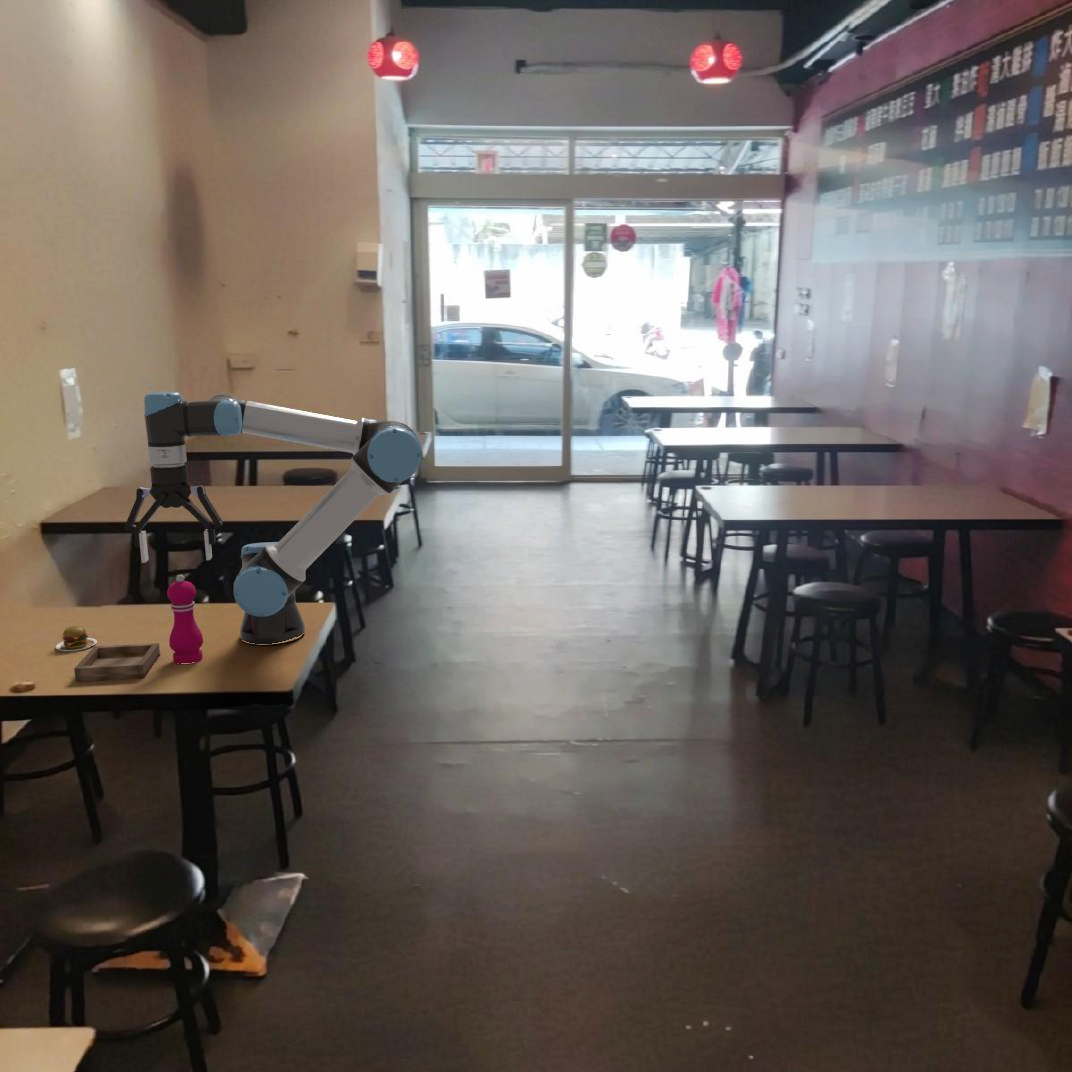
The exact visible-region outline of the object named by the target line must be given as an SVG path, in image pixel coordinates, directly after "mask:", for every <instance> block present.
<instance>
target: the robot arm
mask: <svg viewBox="0 0 1072 1072" xmlns="http://www.w3.org/2000/svg"><path fill="white" fill-rule="evenodd" d="M143 399H144V403H143V404H144V414H143V415H144V421H145V427H146V429H145V430H146V437H147V449H148V450H147V451H148V458H149V459H148V460H149V463H150V465H151V467H150V469H149V470H150V481H151V487H150V488H149V487H147V488H146V487H144V486H140V487H138V488H137V489H136V490H135V491H136V496H135V501H134V503H133V506H132V508H131V510H130V513H129V515H128V517H127V520H126V522H125V525H124V528H123V529H124V531H127V532H128V531H129V532H132V533H133V536H134V545H135V547H136V548H140V559H141V564H144V563H145V564H146V563H147V562H148V561H149V552H148V550H149V549H148V538H147V531H146V530H143V529H144V528H145V526H146V525H147V524H148V522H149V521H150V520H151V518H152V517H153V516H154V515H155V513H156V512H157V510H158V509H159V508H161V507H162V508H164V509H169V508H180V507H183V508H184V509H185V510H187V511H188V512H189V513H190V514H191V515H192V516H193V517H194V518H196V520H197V521H198V522H199V523H200V524H201V525H202V526H203V527H204V528H205V530H204V531H203V536H204V548H205V558H206V559H205V560H206V561H211V559H212V558H213V553H212V552H213V550H212V545H213V546H214V545H215V544H216V529H219V528H221V527H222V526H223V524H224V521H223V519H222V518H221V516H220V515H219V513H218V512H217V510H216V508H215V507H214V505H213V503H212V502H211V500H210V498H209V497H208V495H207V493H206V488H205V485H203V484H200V485H198V486H192V487H191V485H190V482H189V471H188V465H187V464H186V463H187V461H188V459H187V450H186V448H187V447H186V440H185V438H186V437H188V438H189V437H192V438H193V437H224V438H225V437H229V436H239V435H240V434H246V435H252V436H257V437H263V438H269V439H273V440H274V439H275V440H279V441H285V442H291V443H296V444H300V445H301V444H302V445H305V446H307V445H308V446H312V447H318V448H322V449H328V450H334V451H339V452H345V453H351V454H352V455H353V456H352V457H351V464H350V465H351V467H350V469H348V470H347V472H345V474H343V476H342V477H341V478H340V479H339V480H338V481H337V482H336V483H335V484H334V485H333V486H332V487H331V488H330V489H328V491H327V492H326V493H325V494H323V495H324V496H322V497H321V498H320V499H319V500H318V501H317V502H316V503H315V504H314V505H313V507H311V509H309V510H308V512H307V513H306V514H305V515H304V516H302V518H300V520H298V522H297V523H296V524H294V526H293V527H291V529H290V530H289V531H288V532H287V533H286V534H285V535H284V536H283V537H282V538H281V539H280V540H279V541H272V542H271V541H270V542H254V543H248V544H246V545H245V544H244V546H242V548H241V549H240V550H241V554H240V558H241V561H242V564H241V568H240V570H239V572H238V574H237V576H236V577H235V579H234V581H233V596H234V600H235V603H236V604H237V606H238V607H239V608H240V609H241V610H243V611H244V613H243V617H242V619H241V620H242V621H241V625H240V629H239V633H240V640H241V639H242V640H244V641H246V642H249V643H255V644H272V643H278V642H282V641H286V640H289V639H292V638H294V637H298V636H300V635H302V634H303V633H304V631H305V632H306V626H305V622H304V619H303V617H302V615H301V612H300V610H299V607H298V605H297V603H296V600H297V599H296V590H297V589H298V588H299V587H300V586H301V585H302V584H303V583H304V582H305V581H306V570H307V569H308V568H309V567H310V566H311V565H312V564H314V562H315V561H316V560H317V559H318V558H319V557H320V556H321V555H322V554H323V553H324V552H325V551H326V550H327V549H328V548H329V547H330V546H331V544H333V543H334V542H335V541H336V540H337V539H338V537H339V536H341V534H343V532H344V531H345V530H346V529H347V528H348V527H349V526H351V524H352V523H353V522H354V521H355V520H356V519H357V518H358V517H360V515H361V514H362V513H363V512H364V511H365V510H366V509H367V508H368V507H369V506H370V505H371V504H372V503H373V502H374V501H375V500H376V499H377V498H378V497H379V496H381V495H391V493H392V492H393V491H394V490H395V489H397V487H399V486H400V484H401V483H402V482H404V481H407V480H409V479H410V478H411V477H412V476H414V474H415V473H416V472H417V471H418V470H419V468H420V466H421V463H422V458H423V450H422V444H421V442H420V439H419V438H418V437H417V434H416V433H415V431H414V430H413V429H412V428H411V427H410V426H408V425H407V424H404V423H403V422H400V421H395V420H383V419H382V420H380V419H372V418H367V417H361V418H360V419H358V420H354V419H348V418H342V417H336V416H331V415H328V414H327V415H326V414H323V413H321V414H320V413H317V412H316V413H315V412H311V411H310V412H309V411H305V410H300V409H299V410H298V409H295V408H289V407H283V406H279V405H273V404H268V403H263V402H256V401H251V400H245V399H240V398H235V397H234V396H230V395H227V394H218V395H214V396H213V397H211V398H210V399H209V400H203V401H202V400H200V401H186V400H183V398H182V395H181V394H180V393H179V392H178V391H177V392H176V391H158V392H157V391H156V392H149V393H147V394H145V396H144V398H143ZM191 494H194V496H195V497H196V498H197V497H198V500H199V502H200V504H201V505H202V507H203V508H204V510H205V512H206V513H207V514H208V516H209V517H207V515H206V514H205V513H203V511H201V509H200V508H199V507H198V506H196V505H195V504H194V502H193V500H191V498H190V495H191ZM149 495H150V496H151V497H153V499H154V502H153V503H152V505H151V506H150V508H149V509H148V510H147V511H146V513H145V514H144V515H143V516H142V517H141V519H140V520H139V522H137V524H135V523H136V520H137V518H138V515H139V513H140V510H141V508H142V506H143V504H144V501H145V499H147V498H148V496H149ZM242 640H241V641H242Z"/></svg>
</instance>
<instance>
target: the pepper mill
mask: <svg viewBox="0 0 1072 1072" xmlns="http://www.w3.org/2000/svg"><path fill="white" fill-rule="evenodd" d="M185 579H186V578H185V576H184V575H183V574H177V575H176V577H175V581H174V582H172V583H171V584H170V585H169V586H168V588H167V591H166V592H167V593H166V595H167V599H168V600H169V602H171V603H170V606H171V608H170V609H171V610H170V611H172V612H173V616H174V617H173V619H174V620H173V626H172V629H171V633H170V634H169V640H168V641H169V645H168V646H169V647H170V649H171V650H172V651H173V654H172V660H173V663H174V662H175V663H174V664H176V663H179V664H178V665H180V664H181V663H192V662H196V663H198V661H199V662H201V661H202V660H203V658H204V657H203V650H202V649H200V648H201V647H202V646H203V644H204V637H203V633H202V631H201V629H200V627H199V626H198V623H197V622H196V619H195V616H194V615H195V614H194V609H195V607H196V606H195V601H194V599H195V598H196V595H197V590H196V587H195V585H194V584H193V583H192V582H190V581H187V580H185ZM201 659H202V660H201Z"/></svg>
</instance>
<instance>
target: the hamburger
mask: <svg viewBox="0 0 1072 1072" xmlns="http://www.w3.org/2000/svg"><path fill="white" fill-rule="evenodd" d="M61 637H62V638H61V639H62V641H61V642H59V643H57V644H56V645H55V649H56V650H58V651H60V652H61V651H62V652H78V651H84V650H87V649H89V648H91V646H92V647H94V645H95V646H96V644H97V643H98V640H97V639H95V638H92V637H89V635H88V633H87V630H86V628H85V627H83V626H80V625H72V626H69V627H67V628H65V629H64V630H63V632H62V636H61ZM88 642H91V643H92V644H91V645H90V646H87V645H88ZM63 646H64V648H66V649H67V650H66V649H61V647H63ZM86 646H87V647H86Z"/></svg>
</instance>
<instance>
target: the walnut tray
mask: <svg viewBox="0 0 1072 1072" xmlns="http://www.w3.org/2000/svg"><path fill="white" fill-rule="evenodd" d="M159 656H160V657H161V651H160V642H157V643H156V642H155V643H154V642H153V643H136V644H135V643H134V644H118V645H116V644H115V645H97V646H96V645H95V646H94V645H93V647H92V649H91V650H89V652H88V653H87V654H86V655H85V656H84V657H83V658H82V659H81V660H80V662H79V663H78V664H77V665H76V666H75V667H74V668H73V670H74V676H75V677H74V678H75V682H76V683H81V682H96V681H97V682H99V681H114V680H115V681H116V680H132V679H133V680H135V679H145V678H146V677H147V675H148V674H149V672H150V671H151V669H152V668H153V667H154V665H155V664H156V662H157V661H158V660H159V658H160V657H159ZM158 657H159V658H158ZM154 663H155V664H154ZM152 666H153V667H152ZM149 670H150V671H149Z"/></svg>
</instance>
